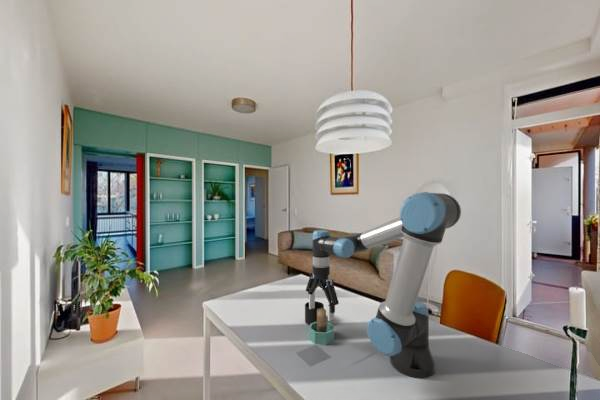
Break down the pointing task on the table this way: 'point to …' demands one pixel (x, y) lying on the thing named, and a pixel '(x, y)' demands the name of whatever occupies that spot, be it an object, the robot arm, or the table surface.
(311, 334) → the teal octagonal bowl
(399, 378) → the table surface
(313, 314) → the mug
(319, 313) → the dowel
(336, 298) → the robot arm
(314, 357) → the coaster
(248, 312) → the table surface
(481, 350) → the table surface
